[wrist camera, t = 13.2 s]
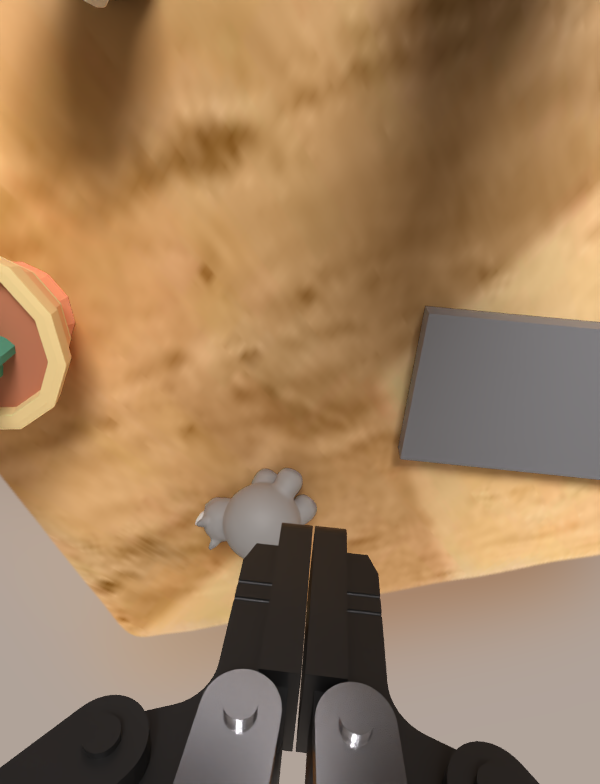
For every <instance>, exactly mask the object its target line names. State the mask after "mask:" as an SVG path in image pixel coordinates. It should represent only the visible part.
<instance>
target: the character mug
mask: <svg viewBox="0 0 600 784" xmlns="http://www.w3.org/2000/svg"><path fill="white" fill-rule="evenodd" d="M83 1H85V2H87V3H89V4H91V5H93V6H94V7H97V8H104V7H106V6H107V4H108V2H109V0H83Z"/></svg>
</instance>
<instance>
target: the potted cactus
mask: <svg viewBox="0 0 600 784" xmlns="http://www.w3.org/2000/svg"><path fill="white" fill-rule="evenodd" d="M74 325H75V320H74V317H73V313H72V309H71V306H70V302H69V299H68V296H67V295H66V294H65V293H64V292H63V290H62V289H61V288H60V287H59V286H58V285H57V283H56V282H55V281H54V280H53V279H52V278H51V277H50V275H49V274H47V273H45V272H43V271H41V270H39V269H36V268H34V267H32V266H30V265H28V264H26V263H24V262H11V261H9V260H7V259H5V258H3V257H1V256H0V430H6V429H22V428H24V427H25V426H27V425H28V424H30V423H31V422H33V421H34V420H35V419H37V418H38V417H40V416H41V415H43V414H44V413H46V412H47V411H49V410H50V409H52V408H53V407H54V406H55V405H56V403H57V401H58V399H59V397H60V395H61V392H62V388H63V385H64V381H65V378H66V375H67V371H68V368H69V364H70V361H71V358H72V357H71V354H70V350H69V345H70V341H71V335H72V332H73V328H74Z"/></svg>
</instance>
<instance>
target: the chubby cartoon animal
mask: <svg viewBox="0 0 600 784" xmlns="http://www.w3.org/2000/svg"><path fill="white" fill-rule="evenodd" d="M302 483H303V479H302V476H301V474H300V473H299V472H297V471H296V470H294V469H291V468H284V469H282V470H281V471H280V472H279V473H278V475H277V474H276V473H274V472H273V471H271V470H269V469H261V470H260V471H259V472H258V473H257V474H256V475H255V477H254V479H253V481H252V484H251V485H249V486H246V487H244V488H242V489H241V490H239V491H238V492H237V493H236V494H235V495H234V496H233V497H232V498H220V497H217V498H213V499H211V500H210V501H209V502H208V503H206V505H205V510H204V511H203V512H202V513H200V515H199V516H198V517H197V519H196V522H195V525H197V526H199V527H204V529H205V531H206V533H207V534H208V535H209V537H210V538H211V542H210V545H209V549H210V550H211V549H213V548H215V547H216V546H217V545H218V544H219V543H220V542H222V541H227V542H228V544H229V546H230V547H231V549H232V550H233V551H234V552H235V553H236V554H237V555H239V556H240V557H242V558H245V557H246V556H247V554H248V553H249V552H250V551H251V550H252V548H253V547H254V546H255V545H256V543H260V544H269V545H278V544H279V538H280V531H281V525H282V523H292V524H301V525H305V524H306V523H308V522H309V521H310V520H311V519H312V518H313V517H314V516H315V514H316V511H317V506H316V504H315V502H314V501H313V500H312V499H311V498H310V497H308V496H306V495H299V496H297V497H296V498H295V499H294V497H295V495H296V494H297V493H298V492H299V490H300V489H301V487H302Z"/></svg>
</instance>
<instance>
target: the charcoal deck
mask: <svg viewBox="0 0 600 784" xmlns="http://www.w3.org/2000/svg"><path fill="white" fill-rule="evenodd" d="M398 449H399V455H400V459H404V460H413V461H423V462H433V463H442V464H452V465H462V466H471V467H481V468H491V469H500V470H510V471H520V472H529V473H539V474H549V475H558V476H568V477H578V478H587V479H597V480H600V322H592V321H581V320H570V319H559V318H548V317H537V316H527V315H516V314H505V313H494V312H483V311H472V310H462V309H451V308H440V307H429V306H425V311H424V316H423V321H422V326H421V332H420V337H419V342H418V347H417V352H416V357H415V363H414V368H413V373H412V378H411V383H410V388H409V394H408V399H407V404H406V409H405V414H404V419H403V425H402V430H401V435H400V440H399V445H398Z"/></svg>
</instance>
